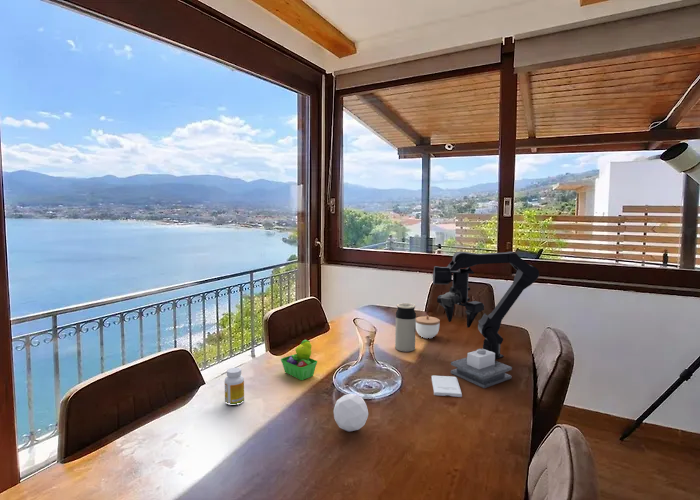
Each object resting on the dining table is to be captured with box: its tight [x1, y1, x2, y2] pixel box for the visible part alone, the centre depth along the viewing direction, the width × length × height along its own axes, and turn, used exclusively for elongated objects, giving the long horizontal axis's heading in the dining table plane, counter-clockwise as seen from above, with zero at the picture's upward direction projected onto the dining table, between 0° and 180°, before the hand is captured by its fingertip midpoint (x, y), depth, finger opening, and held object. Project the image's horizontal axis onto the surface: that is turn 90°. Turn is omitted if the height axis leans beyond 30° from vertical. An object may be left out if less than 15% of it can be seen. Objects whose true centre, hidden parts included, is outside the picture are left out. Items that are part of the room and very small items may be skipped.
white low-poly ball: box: [333, 393, 369, 432], centre depth 104 cm, size 9×9×12 cm
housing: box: [466, 348, 496, 369], centre depth 135 cm, size 5×8×5 cm, turn 123°
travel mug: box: [394, 302, 417, 353], centre depth 161 cm, size 8×8×18 cm
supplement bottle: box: [224, 367, 245, 404], centre depth 115 cm, size 5×5×10 cm
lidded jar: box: [415, 315, 441, 339], centre depth 178 cm, size 11×11×9 cm
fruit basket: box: [280, 339, 318, 381], centre depth 136 cm, size 11×9×11 cm
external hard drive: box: [431, 375, 463, 398], centre depth 127 cm, size 2×8×12 cm
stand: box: [450, 356, 513, 389], centre depth 136 cm, size 14×14×4 cm
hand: (458, 324), depth 155 cm, fingers open, 9 cm apart
